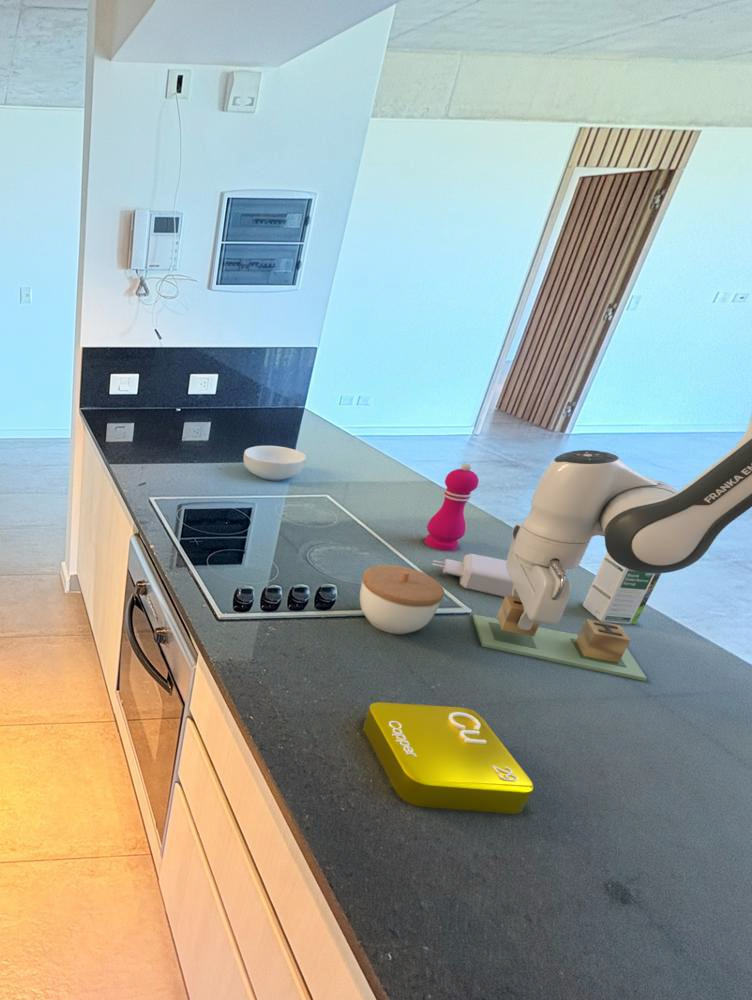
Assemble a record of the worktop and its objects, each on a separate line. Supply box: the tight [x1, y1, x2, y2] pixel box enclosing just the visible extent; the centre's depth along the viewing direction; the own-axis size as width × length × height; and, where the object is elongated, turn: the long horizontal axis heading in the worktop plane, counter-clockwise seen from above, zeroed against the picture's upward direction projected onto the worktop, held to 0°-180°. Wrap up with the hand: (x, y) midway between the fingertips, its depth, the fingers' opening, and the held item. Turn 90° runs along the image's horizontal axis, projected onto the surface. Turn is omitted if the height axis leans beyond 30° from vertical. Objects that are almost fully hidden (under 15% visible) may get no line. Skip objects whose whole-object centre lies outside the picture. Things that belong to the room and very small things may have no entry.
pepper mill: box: [424, 462, 479, 552], centre depth 136 cm, size 7×7×20 cm
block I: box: [496, 595, 541, 636], centre depth 106 cm, size 5×5×5 cm
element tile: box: [362, 701, 534, 815], centre depth 82 cm, size 15×15×5 cm
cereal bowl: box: [243, 445, 307, 481], centre depth 179 cm, size 17×17×7 cm
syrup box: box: [582, 551, 662, 625], centre depth 112 cm, size 6×6×14 cm
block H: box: [576, 618, 631, 663], centre depth 102 cm, size 5×5×5 cm
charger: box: [432, 553, 513, 598], centre depth 125 cm, size 5×9×15 cm
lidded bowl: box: [359, 564, 445, 635], centre depth 110 cm, size 13×13×11 cm
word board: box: [472, 613, 647, 682], centre depth 106 cm, size 22×10×1 cm, turn 65°
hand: (518, 618), depth 106 cm, fingers closed on block I, 4 cm apart
